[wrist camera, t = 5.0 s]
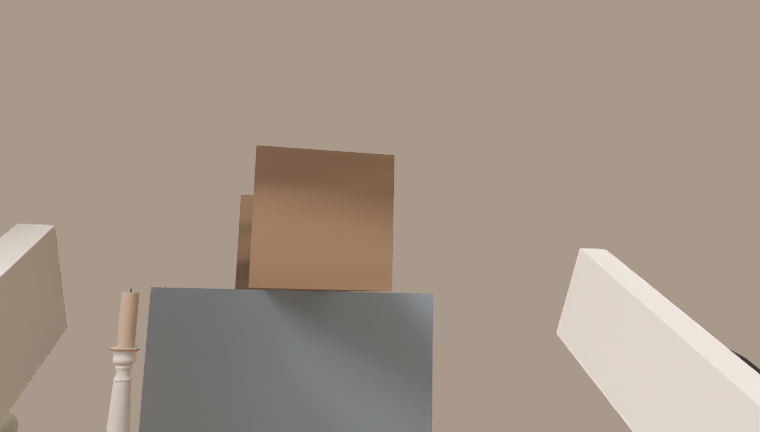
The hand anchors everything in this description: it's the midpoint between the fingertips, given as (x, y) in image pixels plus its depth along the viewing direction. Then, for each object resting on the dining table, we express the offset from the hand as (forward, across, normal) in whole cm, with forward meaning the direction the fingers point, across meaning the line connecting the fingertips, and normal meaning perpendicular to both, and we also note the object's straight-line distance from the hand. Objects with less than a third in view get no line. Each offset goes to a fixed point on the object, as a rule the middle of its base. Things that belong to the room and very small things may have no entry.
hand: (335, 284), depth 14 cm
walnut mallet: (+11, -1, -6) cm, 13 cm away
